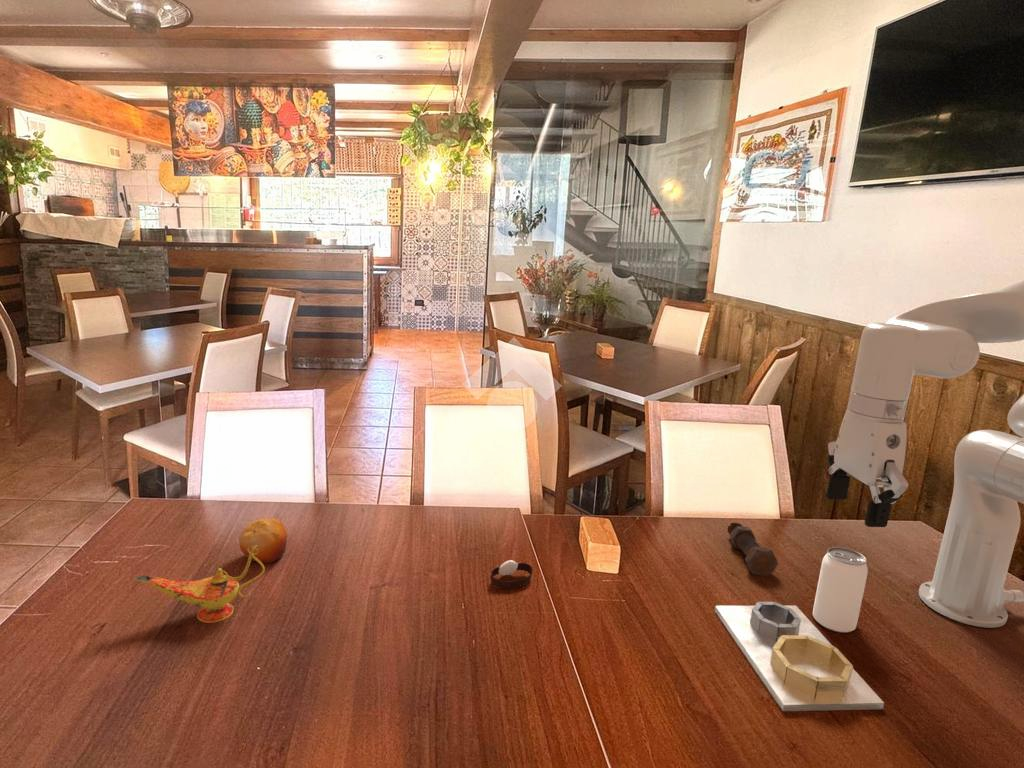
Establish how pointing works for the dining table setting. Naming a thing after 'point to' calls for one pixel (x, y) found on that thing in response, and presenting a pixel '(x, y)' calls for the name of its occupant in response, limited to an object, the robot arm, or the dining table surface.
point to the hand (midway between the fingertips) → (854, 511)
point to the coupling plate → (796, 659)
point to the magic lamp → (206, 591)
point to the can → (840, 589)
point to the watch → (508, 569)
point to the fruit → (264, 539)
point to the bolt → (752, 550)
